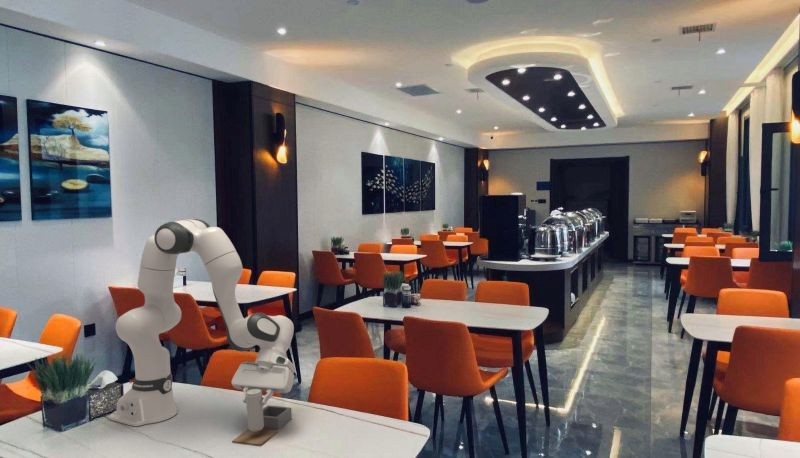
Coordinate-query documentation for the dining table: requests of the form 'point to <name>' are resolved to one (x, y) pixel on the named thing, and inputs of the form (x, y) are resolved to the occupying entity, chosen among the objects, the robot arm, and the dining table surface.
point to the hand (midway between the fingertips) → (254, 403)
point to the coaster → (255, 437)
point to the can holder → (276, 417)
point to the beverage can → (254, 410)
